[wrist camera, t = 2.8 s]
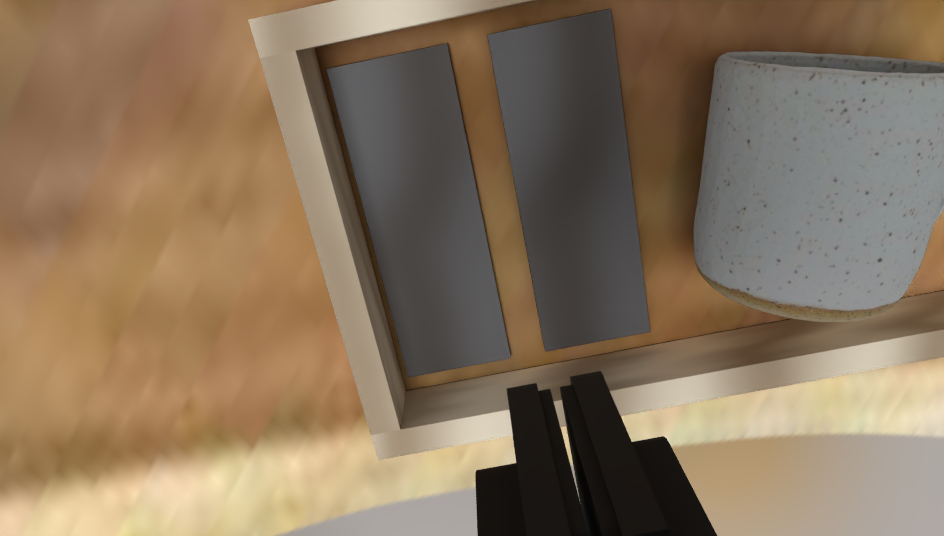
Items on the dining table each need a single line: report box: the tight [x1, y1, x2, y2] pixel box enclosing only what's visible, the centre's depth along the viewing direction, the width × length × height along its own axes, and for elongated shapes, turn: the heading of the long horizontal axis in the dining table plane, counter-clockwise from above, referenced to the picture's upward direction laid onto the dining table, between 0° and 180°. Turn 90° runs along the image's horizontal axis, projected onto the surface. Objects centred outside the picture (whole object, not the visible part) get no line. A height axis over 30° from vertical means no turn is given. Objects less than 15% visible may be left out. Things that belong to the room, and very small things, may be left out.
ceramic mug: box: [693, 51, 944, 322], centre depth 23 cm, size 11×8×8 cm
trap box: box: [249, 0, 944, 460], centre depth 25 cm, size 32×17×3 cm, turn 101°
